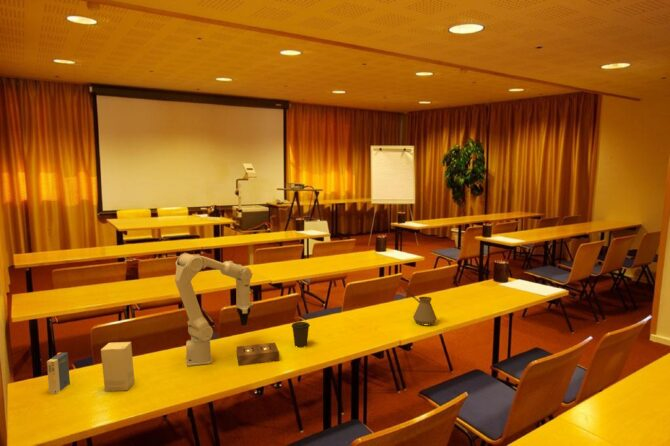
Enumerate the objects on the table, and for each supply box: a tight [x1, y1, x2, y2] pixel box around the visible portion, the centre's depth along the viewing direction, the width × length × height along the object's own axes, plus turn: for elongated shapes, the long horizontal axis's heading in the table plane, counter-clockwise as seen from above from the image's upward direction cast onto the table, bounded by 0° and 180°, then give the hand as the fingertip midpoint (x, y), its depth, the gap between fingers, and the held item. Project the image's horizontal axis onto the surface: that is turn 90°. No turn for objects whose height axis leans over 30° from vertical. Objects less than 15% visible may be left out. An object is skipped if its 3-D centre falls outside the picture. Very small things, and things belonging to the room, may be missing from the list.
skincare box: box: [100, 341, 135, 392], centre depth 160 cm, size 8×7×16 cm
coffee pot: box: [401, 287, 437, 325], centre depth 231 cm, size 21×12×15 cm, turn 37°
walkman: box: [46, 352, 71, 395], centre depth 159 cm, size 8×3×12 cm, turn 0°
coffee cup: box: [291, 321, 311, 348], centre depth 199 cm, size 8×8×10 cm
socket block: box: [236, 342, 280, 367], centre depth 185 cm, size 16×10×4 cm, turn 106°
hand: (243, 324), depth 196 cm, fingers closed
